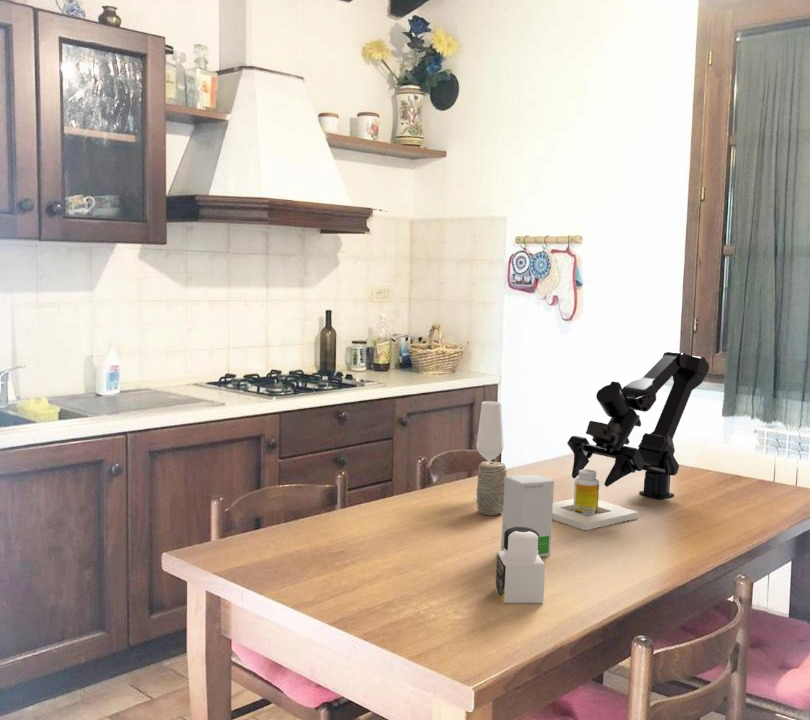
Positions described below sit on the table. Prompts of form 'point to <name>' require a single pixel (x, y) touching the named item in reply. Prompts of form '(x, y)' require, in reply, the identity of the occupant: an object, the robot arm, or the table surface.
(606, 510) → the socket plate
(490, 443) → the champagne flute
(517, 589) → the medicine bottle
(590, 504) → the supplement bottle
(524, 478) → the skincare box
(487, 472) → the carving
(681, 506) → the table surface
